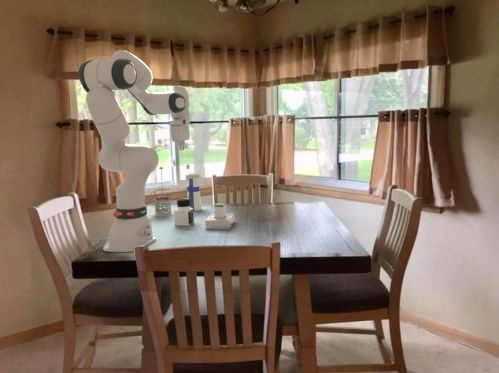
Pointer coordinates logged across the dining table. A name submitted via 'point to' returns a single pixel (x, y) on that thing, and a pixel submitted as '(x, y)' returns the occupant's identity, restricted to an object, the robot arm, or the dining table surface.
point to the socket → (219, 221)
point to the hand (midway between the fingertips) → (181, 150)
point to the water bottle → (193, 190)
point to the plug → (220, 210)
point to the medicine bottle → (183, 213)
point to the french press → (166, 200)
